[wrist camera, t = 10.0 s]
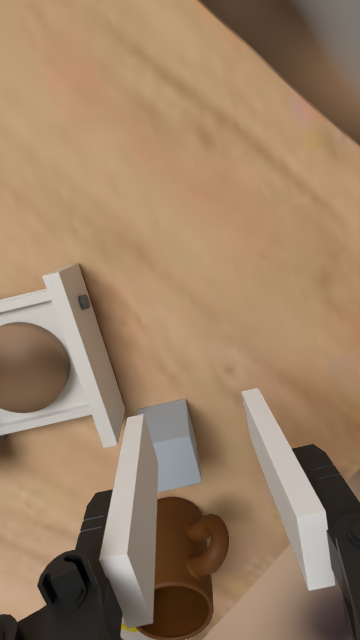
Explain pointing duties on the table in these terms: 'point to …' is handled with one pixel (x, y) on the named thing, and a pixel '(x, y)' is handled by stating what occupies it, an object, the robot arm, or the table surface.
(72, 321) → the tray
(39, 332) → the coaster
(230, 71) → the table surface
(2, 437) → the housing
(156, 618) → the mug
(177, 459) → the block
